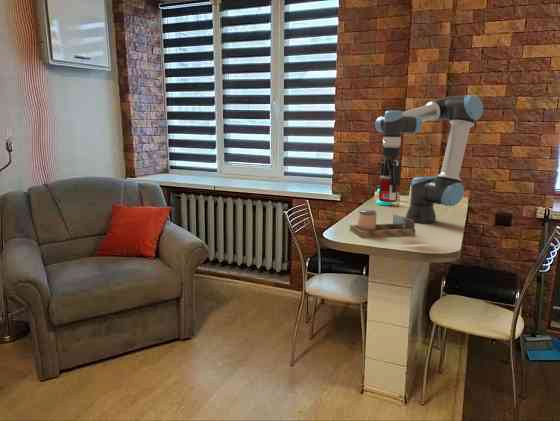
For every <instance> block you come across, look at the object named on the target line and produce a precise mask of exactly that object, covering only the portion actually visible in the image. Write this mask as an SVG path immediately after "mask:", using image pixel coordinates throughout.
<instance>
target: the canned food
mask: <svg viewBox="0 0 560 421" xmlns="http://www.w3.org/2000/svg"><path fill="white" fill-rule="evenodd" d="M379 178H380V180H379V188H378V189H379V194H378V199H379V201H382V202H393V203H396V202H397V201H398V190H399V184H397V185H396V200H389V193H390V184H391V177H390V175H389V176H380V175H379Z"/></svg>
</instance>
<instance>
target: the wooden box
mask: <svg viewBox="0 0 560 421" xmlns="http://www.w3.org/2000/svg"><path fill="white" fill-rule="evenodd" d="M401 217H402V218H405V219H406V223H407V226H405V229H397V230H394V229H392V228H393V223H376V230H369V231H361V230H360V229H358V224H350V225H349V232H351V233H353V234H354V235H356V236H358V237H359V238H369V237H370V238H372V237H376V238H377V237H393V236H395V237H396V236H397V237H398V236H400V237H401V236H416V229H415V225H416V222H415V221H413V220H411V219H408V218H406V216H401Z"/></svg>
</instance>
